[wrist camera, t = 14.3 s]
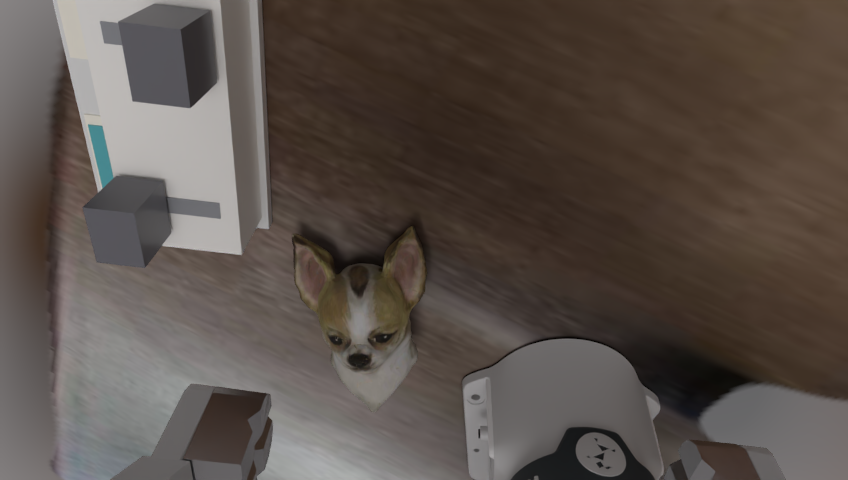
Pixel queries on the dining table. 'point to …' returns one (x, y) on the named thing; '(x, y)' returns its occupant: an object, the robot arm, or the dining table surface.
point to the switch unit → (179, 121)
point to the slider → (128, 221)
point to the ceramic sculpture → (365, 313)
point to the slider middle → (169, 54)
